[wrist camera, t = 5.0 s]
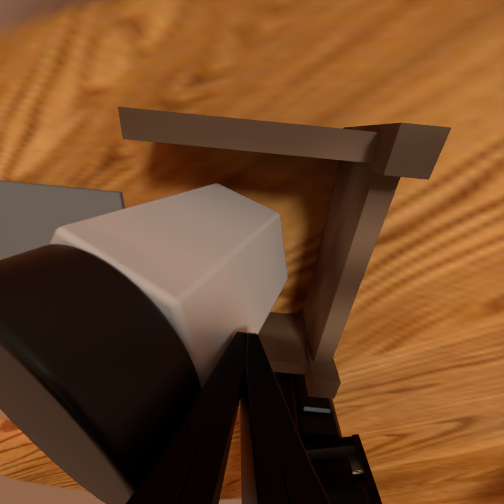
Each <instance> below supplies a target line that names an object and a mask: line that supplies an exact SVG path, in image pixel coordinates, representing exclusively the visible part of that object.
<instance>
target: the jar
mask: <svg viewBox="0 0 504 504" xmlns="http://www.w3.org/2000/svg"><path fill="white" fill-rule="evenodd" d="M287 279H288V276H287V268H286V260H285V252H284V244H283V236H282V228H281V220H280V215H279V213H278V212H276V211H274V210H272V209H270V208H268V207H266V206H264V205H262V204H260V203H257V202H255V201H253V200H251V199H249V198H247V197H245V196H243V195H241V194H239V193H237V192H235V191H233V190H231V189H229V188H226V187H224V186H222V185H220V184H218V183H215V184H211V185H207V186H204V187H200V188H197V189H193V190H189V191H186V192H182V193H179V194H175V195H171V196H168V197H164V198H160V199H157V200H153V201H150V202H146V203H142V204H139V205H135V206H132V207H128V208H124V209H121V210H117V211H113V212H110V213H106V214H103V215H99V216H95V217H92V218H88V219H85V220H81V221H77V222H74V223H70V224H66V225H63V226H60V227H58V228H57V229H56V230H55V232H54V234H53V236H52V239H51V241H50V243H49V245H45V246H42V247H39V248H36V249H32V250H29V251H26V252H23V253H20V254H17V255H14V256H11V257H8V258H5V259H2V260H0V409H1V410H2V411H3V412H4V413H5V414H6V415H7V417H8V418H9V419H10V420H11V421H12V422H13V423H14V424H15V425H16V426H17V427H18V428H19V429H20V430H21V431H22V432H23V433H24V434H25V435H26V436H27V437H28V438H29V439H30V440H31V441H32V442H33V443H34V444H35V445H36V446H37V447H38V448H39V449H40V450H41V451H43V452H44V453H45V454H46V455H47V456H48V457H49V458H50V459H51V460H52V461H53V462H54V463H56V464H57V465H58V466H59V467H60V468H61V469H62V470H63V471H65V472H66V473H67V474H68V475H69V476H70V477H72V478H73V479H74V480H75V481H76V482H78V483H79V484H80V485H81V486H82V487H84V488H85V489H86V490H88V491H89V492H90V493H92V494H93V495H94V496H96V497H97V498H98V499H100V500H101V501H103V502H105V503H106V504H126V502H127V501H128V500H129V498H130V497H131V496H132V494H133V493H134V492H135V490H136V489H137V488H138V486H139V485H140V484H141V482H142V481H143V479H144V478H145V477H146V475H147V474H148V473H149V471H150V470H151V468H152V467H153V466H154V464H155V463H156V461H157V460H158V458H159V457H160V456H161V454H162V453H163V451H164V450H165V448H166V447H167V445H168V444H169V442H170V440H171V439H172V437H173V436H174V434H175V433H176V431H177V429H178V428H179V426H180V424H181V423H182V421H183V420H184V419H185V416H186V415H187V413H188V411H189V410H190V408H191V406H192V405H193V403H194V401H195V400H196V398H197V396H198V395H199V393H200V391H201V390H202V388H203V386H204V385H205V383H206V381H207V380H208V378H209V376H210V375H211V373H212V371H213V370H214V368H215V366H216V365H217V363H218V361H219V360H220V358H221V356H222V355H223V353H224V351H225V350H226V348H227V346H228V345H229V343H230V342H231V340H232V338H233V337H234V335H235V333H236V332H237V331H241V332H246V333H248V332H250V333H257V334H258V333H259V331H260V330H261V328H262V326H263V324H264V322H265V320H266V319H267V317H268V315H269V313H270V311H271V309H272V307H273V306H274V304H275V302H276V300H277V298H278V296H279V294H280V293H281V291H282V289H283V287H284V285H285V283H286V281H287Z"/></svg>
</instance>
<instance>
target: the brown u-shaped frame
mask: <svg viewBox="0 0 504 504" xmlns="http://www.w3.org/2000/svg"><path fill="white" fill-rule="evenodd" d="M118 111H119V117H120V123H121V130H122V136H123V139H129V140H139V141H149V142H160V143H170V144H180V145H191V146H201V147H211V148H221V149H232V150H242V151H252V152H263V153H273V154H283V155H293V156H304V157H314V158H324V159H334V160H340V161H341V162H340V166H339V170H338V174H337V178H336V182H335V186H334V190H333V194H332V198H331V202H330V206H329V210H328V214H327V218H326V222H325V226H324V230H323V234H322V238H321V242H320V246H319V250H318V254H317V258H316V262H315V266H314V270H313V274H312V278H311V282H310V286H309V290H308V294H307V298H306V302H305V306H304V310H303V313H299V315H293V314H283V313H272V312H270V313H269V315H268V317H267V319H266V320H265V322H264V324H263V326H262V328H261V330H260V331H259V333H258V336H259V338H260V341H261V343H262V346H263V348H264V350H265V353H266V355H267V358H268V360H269V363H270V365H271V368H272V370H273V372H282V373H293V374H303V375H305V381H306V387H307V393H308V396H310V397H320V398H331V399H334V397H335V395H336V393H337V390H338V388H339V386H340V383H341V382H340V379H339V376H338V372H337V369H336V366H335V363H334V360H333V356H334V353H335V350H336V348H337V345H338V342H339V340H340V337H341V334H342V332H343V329H344V326H345V324H346V321H347V318H348V316H349V313H350V310H351V308H352V305H353V302H354V300H355V297H356V294H357V292H358V289H359V286H360V284H361V281H362V278H363V276H364V273H365V270H366V268H367V265H368V262H369V260H370V257H371V254H372V252H373V249H374V246H375V244H376V241H377V238H378V236H379V233H380V230H381V228H382V225H383V222H384V220H385V217H386V214H387V212H388V209H389V206H390V204H391V201H392V198H393V196H394V193H395V190H396V188H397V185H398V182H399V180H400V177H408V178H418V179H429V178H430V176H431V173H432V171H433V169H434V166H435V164H436V162H437V159H438V157H439V155H440V153H441V150H442V148H443V146H444V143H445V141H446V139H447V136H448V134H449V132H450V129H451V128H450V127H439V126H429V125H419V124H409V123H393V124H381V125H369V126H357V127H345V128H344V129H339V128H329V127H319V126H309V125H298V124H288V123H278V122H268V121H257V120H247V119H237V118H227V117H217V116H206V115H196V114H186V113H176V112H165V111H155V110H145V109H135V108H125V107H118Z"/></svg>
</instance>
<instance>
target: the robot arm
mask: <svg viewBox="0 0 504 504" xmlns="http://www.w3.org/2000/svg"><path fill="white" fill-rule="evenodd" d="M337 372H338V371H337ZM239 402H240V416H241V488H242V504H382V502H381V499H380V496H379V493H378V490H377V487H376V484H375V481H374V478H373V475H372V472H371V469H370V466H369V464H368V461H367V458H366V455H365V452H364V449H363V446H362V443H361V440H360V437H359V434H355V435H352V436H350V437H342V434H341V431H340V427H339V423H338V419H337V415H336V412H335V408H334V404H333V400H332V399H331V398H320V397H310V396H308V393H307V387H306V381H305V375H303V374H293V373H282V372H273V370H272V368H271V365H270V363H269V360H268V358H267V355H266V353H265V350H264V348H263V346H262V343H261V341H260V338H259V336H258V334H257V333H250V332H248V333H246V332H241V331H237V332H236V333H235V335H234V337H233V338H232V340H231V342H230V343H229V345H228V346H227V348H226V350H225V351H224V353H223V355H222V356H221V358H220V360H219V361H218V363H217V365H216V366H215V368H214V370H213V371H212V373H211V375H210V376H209V378H208V380H207V381H206V383H205V385H204V386H203V388H202V390H201V391H200V393H199V395H198V396H197V398H196V400H195V401H194V403H193V405H192V406H191V408H190V410H189V411H188V413H187V415H186V416H185V419H184V420H183V421H182V423H181V424H180V426H179V428H178V429H177V431H176V433H175V434H174V436H173V437H172V439H171V440H170V442H169V444H168V445H167V447H166V448H165V450H164V451H163V453H162V454H161V456H160V457H159V458H158V460H157V461H156V463H155V464H154V466H153V467H152V468H151V470H150V471H149V473H148V474H147V475H146V477H145V478H144V479H143V481H142V482H141V484H140V485H139V486H138V488H137V489H136V490H135V492H134V493H133V494H132V496H131V497H130V498H129V500H128V501H127V502H126V504H219V499H220V494H221V489H222V484H223V479H224V474H225V470H226V465H227V460H228V455H229V450H230V445H231V440H232V436H233V431H234V426H235V421H236V416H237V411H238V406H239ZM353 470H361V473H360V474H353Z"/></svg>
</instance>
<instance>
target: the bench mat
mask: <svg viewBox="0 0 504 504" xmlns="http://www.w3.org/2000/svg"><path fill="white" fill-rule="evenodd" d="M121 209H124V202H123V197H122V192H114V191H104V190H93V189H83V188H73V187H62V186H52V185H41V184H31V183H21V182H10V181H0V256H1V258H2V259H5V258H8V257H11V256H14V255H17V254H20V253H23V252H26V251H29V250H32V249H36V248H39V247H42V246H45V245H49V243H50V241H51V239H52V236H53V234H54V232H55V230H56V229H57V228H58V227H60V226H63V225H66V224H70V223H74V222H77V221H81V220H85V219H88V218H92V217H95V216H99V215H103V214H106V213H110V212H113V211H117V210H121Z"/></svg>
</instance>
